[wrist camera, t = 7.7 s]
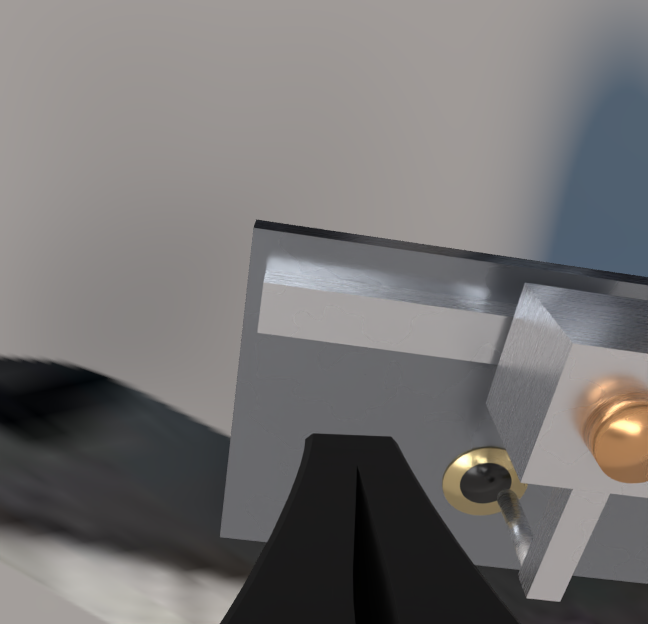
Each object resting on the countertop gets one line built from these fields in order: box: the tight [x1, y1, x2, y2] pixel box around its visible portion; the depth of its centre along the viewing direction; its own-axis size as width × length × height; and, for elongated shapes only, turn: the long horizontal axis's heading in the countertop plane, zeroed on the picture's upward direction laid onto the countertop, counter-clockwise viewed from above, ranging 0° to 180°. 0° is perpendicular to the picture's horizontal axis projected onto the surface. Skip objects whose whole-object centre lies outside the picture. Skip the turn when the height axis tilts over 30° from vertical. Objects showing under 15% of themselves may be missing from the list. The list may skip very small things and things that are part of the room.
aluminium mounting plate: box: [220, 220, 648, 584], centre depth 18 cm, size 20×12×6 cm, turn 81°
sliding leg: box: [486, 283, 648, 602], centre depth 17 cm, size 4×8×5 cm, turn 171°
